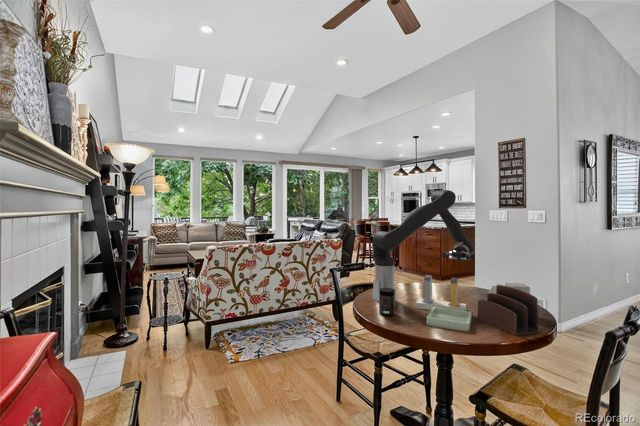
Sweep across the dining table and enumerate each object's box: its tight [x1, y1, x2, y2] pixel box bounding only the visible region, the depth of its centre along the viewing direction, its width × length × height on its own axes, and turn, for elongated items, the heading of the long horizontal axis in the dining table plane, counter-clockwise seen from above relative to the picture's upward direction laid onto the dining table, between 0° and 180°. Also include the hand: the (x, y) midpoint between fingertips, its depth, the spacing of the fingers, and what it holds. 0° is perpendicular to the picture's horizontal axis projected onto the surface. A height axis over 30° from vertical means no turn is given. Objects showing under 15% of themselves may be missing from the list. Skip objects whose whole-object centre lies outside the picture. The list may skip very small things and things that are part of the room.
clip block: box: [415, 297, 467, 311], centre depth 149 cm, size 20×8×3 cm, turn 62°
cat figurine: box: [488, 283, 504, 294], centre depth 156 cm, size 10×8×15 cm
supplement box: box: [504, 282, 531, 294], centre depth 141 cm, size 7×7×13 cm
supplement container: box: [378, 288, 396, 317], centre depth 142 cm, size 7×7×10 cm
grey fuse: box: [423, 274, 433, 304], centre depth 151 cm, size 2×5×14 cm, turn 152°
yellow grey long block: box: [449, 277, 459, 307], centre depth 146 cm, size 2×5×14 cm, turn 152°
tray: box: [426, 307, 473, 333], centre depth 132 cm, size 15×15×3 cm
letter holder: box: [477, 284, 539, 337], centre depth 128 cm, size 10×20×14 cm, turn 13°
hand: (457, 257), depth 155 cm, fingers open, 8 cm apart
